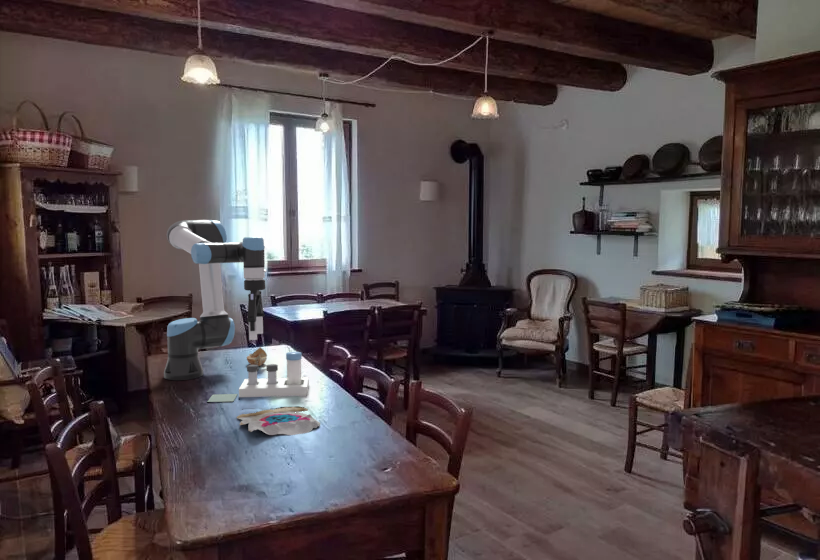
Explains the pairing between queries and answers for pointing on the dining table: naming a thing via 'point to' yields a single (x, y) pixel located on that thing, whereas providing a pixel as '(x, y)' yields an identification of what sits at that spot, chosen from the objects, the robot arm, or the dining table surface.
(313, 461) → the dining table surface
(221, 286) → the robot arm
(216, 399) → the mat
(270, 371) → the plunger
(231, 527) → the dining table surface
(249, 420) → the rumpled printed cloth
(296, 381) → the cylinder
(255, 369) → the plunger
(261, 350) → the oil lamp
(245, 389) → the white tube rack
